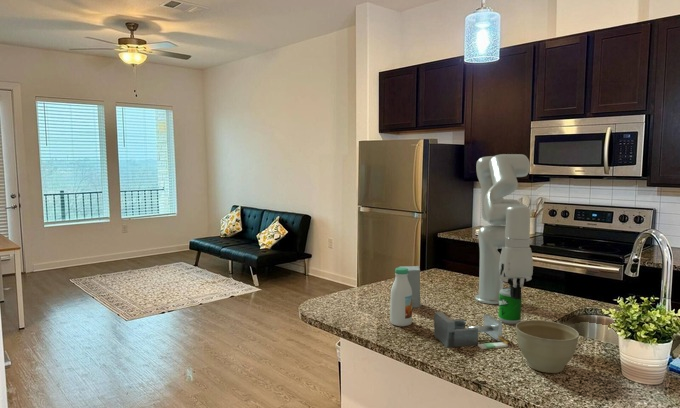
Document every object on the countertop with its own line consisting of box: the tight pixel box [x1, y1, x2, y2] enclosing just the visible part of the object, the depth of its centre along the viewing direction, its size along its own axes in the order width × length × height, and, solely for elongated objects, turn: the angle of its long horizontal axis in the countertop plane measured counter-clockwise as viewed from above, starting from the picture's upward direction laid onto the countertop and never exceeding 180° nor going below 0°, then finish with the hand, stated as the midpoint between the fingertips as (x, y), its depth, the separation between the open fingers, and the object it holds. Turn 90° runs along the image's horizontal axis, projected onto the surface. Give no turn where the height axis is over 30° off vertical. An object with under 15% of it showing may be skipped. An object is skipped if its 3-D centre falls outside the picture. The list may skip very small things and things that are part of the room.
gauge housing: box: [433, 311, 479, 348], centre depth 148 cm, size 10×10×8 cm
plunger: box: [467, 313, 509, 345], centre depth 149 cm, size 9×13×6 cm
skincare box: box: [398, 265, 421, 309], centre depth 184 cm, size 8×7×16 cm
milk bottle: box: [389, 266, 413, 327], centre depth 164 cm, size 8×8×20 cm
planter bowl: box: [515, 319, 580, 374], centre depth 129 cm, size 16×16×11 cm
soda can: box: [498, 286, 523, 325], centre depth 166 cm, size 8×8×12 cm
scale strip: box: [477, 341, 509, 350], centre depth 144 cm, size 9×2×1 cm, turn 102°
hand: (515, 298), depth 152 cm, fingers closed
